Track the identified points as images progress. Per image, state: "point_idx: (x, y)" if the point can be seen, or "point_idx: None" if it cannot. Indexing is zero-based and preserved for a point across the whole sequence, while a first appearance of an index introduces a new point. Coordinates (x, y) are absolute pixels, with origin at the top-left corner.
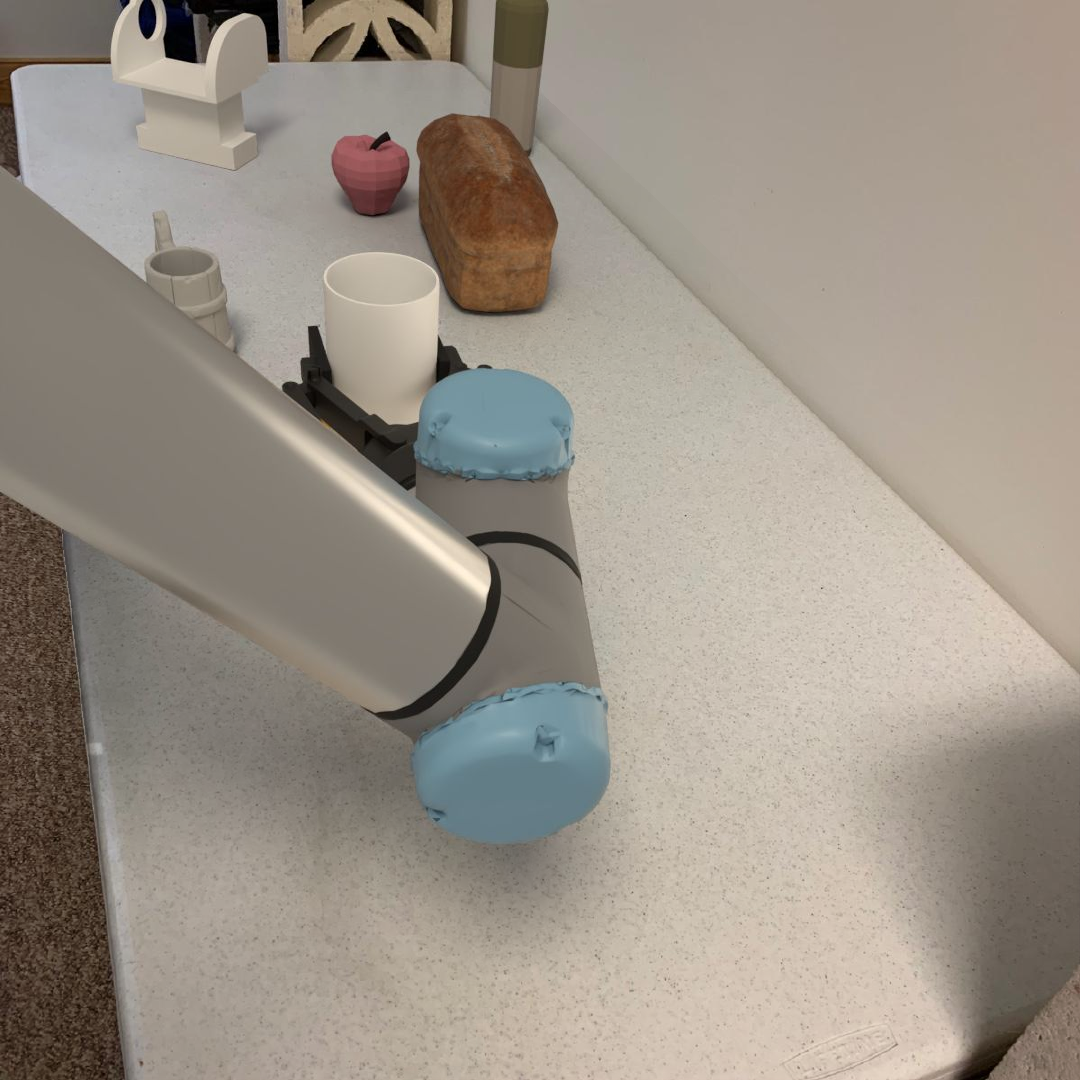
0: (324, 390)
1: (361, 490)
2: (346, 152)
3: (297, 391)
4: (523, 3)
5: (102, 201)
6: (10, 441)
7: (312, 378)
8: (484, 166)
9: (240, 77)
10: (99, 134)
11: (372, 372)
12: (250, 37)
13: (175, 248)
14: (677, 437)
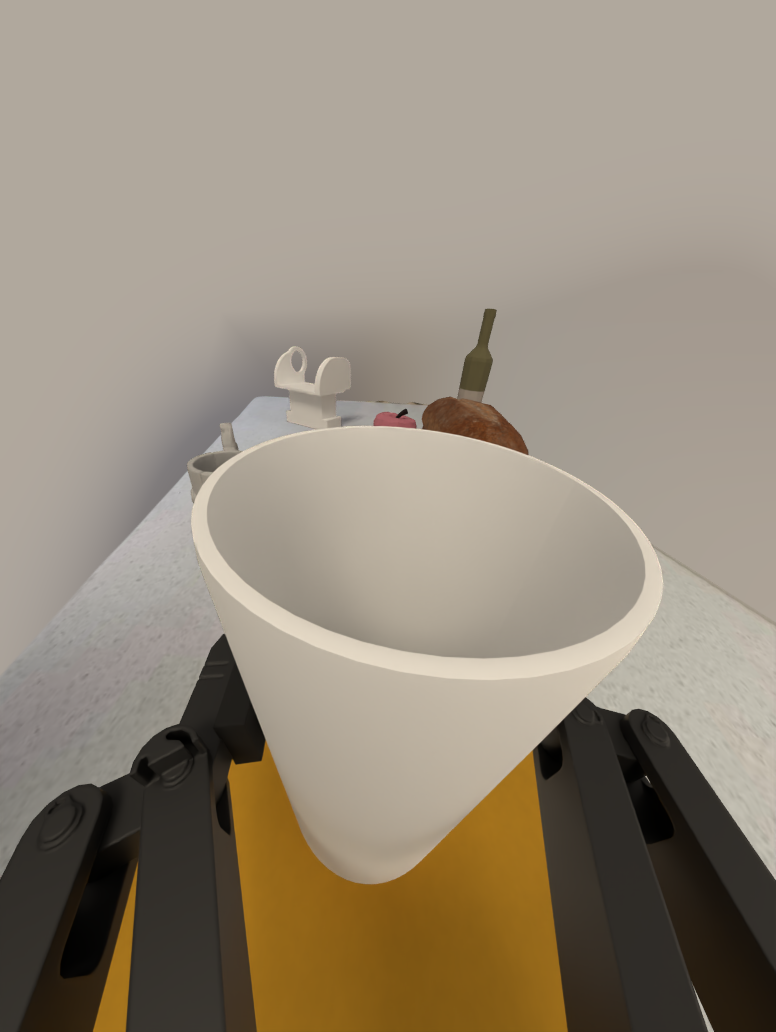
0: (160, 877)
1: None
2: (382, 418)
3: (52, 881)
4: (481, 357)
5: (253, 439)
6: None
7: (162, 777)
8: (478, 415)
9: (334, 386)
10: (272, 416)
11: (350, 815)
12: (342, 368)
13: (229, 451)
14: (705, 683)
